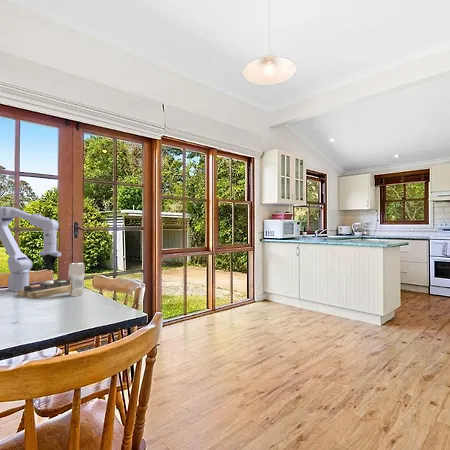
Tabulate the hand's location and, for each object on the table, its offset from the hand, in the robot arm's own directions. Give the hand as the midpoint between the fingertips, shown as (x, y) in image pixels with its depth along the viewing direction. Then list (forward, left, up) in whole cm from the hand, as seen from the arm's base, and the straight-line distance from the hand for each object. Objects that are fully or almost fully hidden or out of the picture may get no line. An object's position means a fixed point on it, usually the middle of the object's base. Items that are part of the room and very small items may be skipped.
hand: (49, 270), depth 156 cm
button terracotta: (+4, -10, -8) cm, 13 cm away
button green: (+4, +4, -8) cm, 9 cm away
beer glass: (+20, 0, -11) cm, 23 cm away
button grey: (+4, -3, -7) cm, 8 cm away
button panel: (+4, -3, -10) cm, 11 cm away
